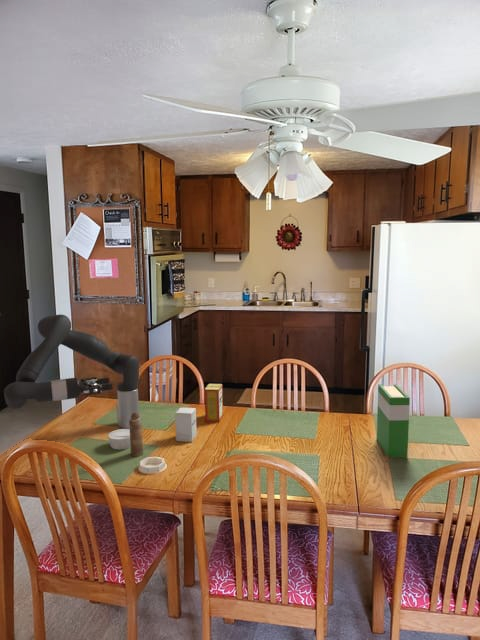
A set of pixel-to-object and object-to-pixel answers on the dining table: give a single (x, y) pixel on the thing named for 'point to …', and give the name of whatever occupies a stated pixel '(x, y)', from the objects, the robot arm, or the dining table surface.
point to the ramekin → (120, 439)
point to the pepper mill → (136, 435)
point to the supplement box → (185, 424)
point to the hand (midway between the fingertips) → (110, 383)
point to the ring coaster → (152, 465)
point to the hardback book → (393, 420)
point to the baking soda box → (213, 403)
